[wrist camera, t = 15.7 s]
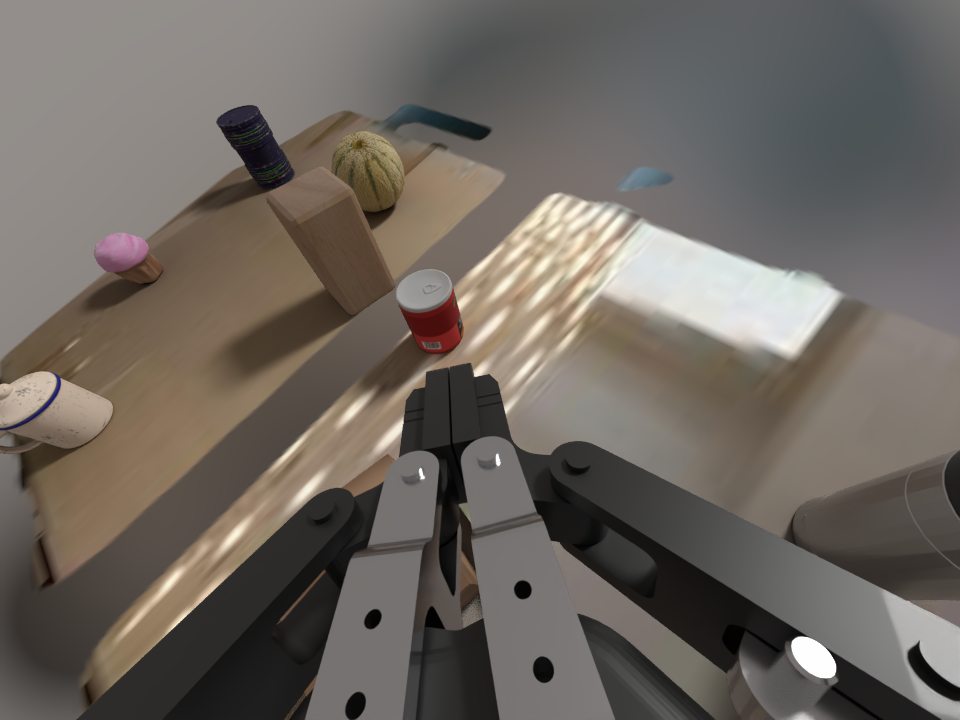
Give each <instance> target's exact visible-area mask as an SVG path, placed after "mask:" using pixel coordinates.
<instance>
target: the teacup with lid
mask: <svg viewBox="0 0 960 720" xmlns="http://www.w3.org/2000/svg"><path fill="white" fill-rule="evenodd" d="M112 413H113V406H112V403H111V402H110V401H109V400H107V399H105V398H103V397H101V396H98V395H96V394H94V393H92V392H90V391H87V390H85V389H83V388H81V387H79V386H77V385H74V384H72V383H70V382H68V381H66V380H63V379H61V378H60V377H59V376H58V375H57V374H55V373H51V372H36V373H32V374H29V375H26V376H24V377H22V378H20V379H18V380H16V381H14V382H13V383H11V384H10V385H9V384H1V385H0V438H1V437H3V436H4V435H5V434H7V433H8V432H12V433H16V434H19V435H22V436H25V437H29V438H32V439H34V440H33V441H31V442H29V443H27V444H25V445H21V446H15V447H5V446H0V453H5V454H15V453H22V452H26V451H29V450H31V449H33V448H35V447H37V446H38V445H40V444H41V443H43V442H45V443H48V444H51V445H54V446H57V447H61V448H67V449H68V448H75V447H78V446H81V445H83V444H85V443H87V442H89V441H90V440H92V439H93V438H95V437H96V436H97V435H98V434H99V433H100V432H101V431H102V430H103V429H104V428H105V427H106V425H107V424H108V423H109V421H110V419H111V417H112Z"/></svg>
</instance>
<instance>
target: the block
mask: <svg viewBox="0 0 960 720" xmlns="http://www.w3.org/2000/svg"><path fill="white" fill-rule="evenodd" d="M266 200H267V203H268V204H269V206H270V207H271V209H272V210H273V212H274V213H275V215H276V216H277V218H278V219H279V221H280V222H281V223H282V225H283V226H284V228H285V229H286V231H287V232H288V234H289V235H290V237H291V238H292V240H293V241H294V242H295V244H296V245H297V247H298V248H299V250H300V251H301V253H302V254H303V256H304V257H305V259H306V260H307V262H308V263H309V264H310V266H311V267H312V269H313V270H314V272H315V273H316V275H317V276H318V278H319V279H320V281H321V282H322V283H323V285H324V286H325V288H326V289H327V291H328V292H329V293H330V294H331V295H332V296H333V297H334V298H335V299H336V301H337V302H338V303H339V304H340V305H341V306H342V307H343V308H344V309H345V310H346V312H347V313H349V314H351V315H356V314H357V313H359V312H360V311H362V310H363V309H365V308H366V307H368V306H369V305H371V304H372V303H374V302H375V301H377V300H378V299H379V298H381V297H382V296H384V295H385V294H387V293H389V292H390V291H392V290H393V289H394V288H395V283H394V280H393V278H392V276H391V273H390V271H389V269H388V267H387V264H386V262H385V260H384V258H383V256H382V253H381V251H380V249H379V247H378V244H377V242H376V240H375V238H374V236H373V233H372V231H371V229H370V227H369V224H368V222H367V220H366V218H365V216H364V213H363V211H362V209H361V207H360V204H359V202H358V200H357V198H356V196H355V193H354V191H353V189H352V188H351V187H350V186H349V185H347V184H346V183H344V182H343V181H342V180H340V179H339V178H338V177H336V176H335V175H334V174H332V173H331V172H330V171H328V170H327V169H326V168H324V167H317V168H315V169H313V170H311V171H309V172H307V173H305V174H304V175H302V176H300V177H298V178H296V179H294V180H292V181H290V182H288V183H286V184H284V185H282V186H280V187H279V188H277V189H275V190H273V191H271V192H269V193H268V194H267V195H266Z"/></svg>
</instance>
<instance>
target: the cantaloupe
mask: <svg viewBox="0 0 960 720" xmlns="http://www.w3.org/2000/svg"><path fill="white" fill-rule="evenodd" d="M332 174H334V175H335V176H336V177H338V178H339V179H340V180H342V181H343V182H344V183H346V184H347V185H349V186H350V187H351V188H352V189H353V191H354V193H355V196H356V198H357V200H358V202H359V204H360V207H361V209H362V210H364V211H370V212H378V211H381V210H385V209H387V208H389V207H391V206H392V205H393V204H394V203H395V202H396V201H397V200H398V199H399V197H400V195H401V193H402V190H403V186H404V170H403V166H402V162H401V160H400V158H399V156H398V154H397V153H396V151H395V149H394V148H393V147H392V145H391V144H390V143H389V142H388V141H386V140H385V139H384V138H382V137H380V136H379V135H376V134H373V133H371V132H365V131H363V132H356V133H353V134H350V135H347V136H346V137H344V138H343V139H342V140H341V141H340V143H339V144H338V145H337V147H336V148H335V150H334V154H333V159H332Z"/></svg>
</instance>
